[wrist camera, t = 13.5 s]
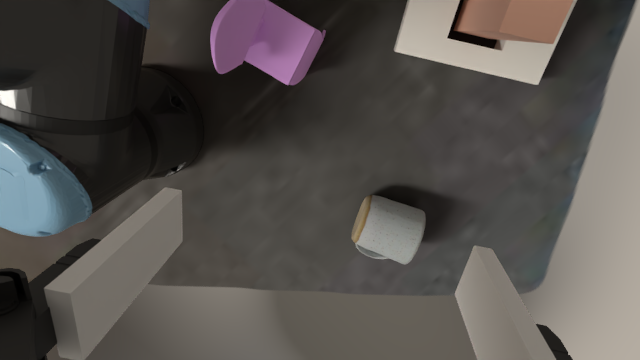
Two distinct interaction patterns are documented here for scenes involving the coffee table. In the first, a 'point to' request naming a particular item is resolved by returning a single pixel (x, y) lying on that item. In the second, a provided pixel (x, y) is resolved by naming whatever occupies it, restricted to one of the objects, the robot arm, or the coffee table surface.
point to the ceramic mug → (388, 229)
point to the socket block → (432, 43)
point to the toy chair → (263, 40)
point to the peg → (513, 19)
